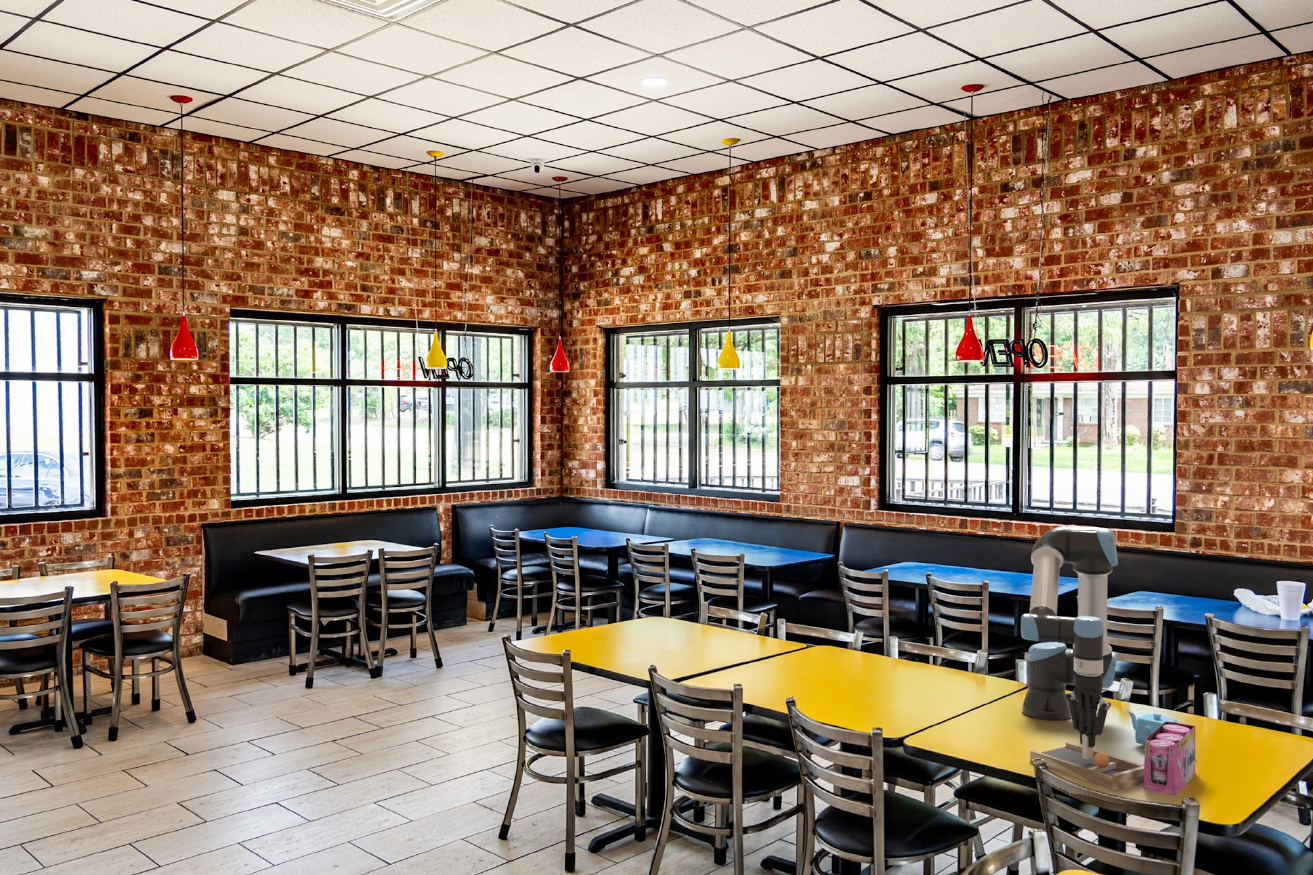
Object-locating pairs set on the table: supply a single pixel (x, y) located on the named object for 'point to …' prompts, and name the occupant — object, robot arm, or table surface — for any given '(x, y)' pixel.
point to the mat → (1081, 760)
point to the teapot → (1147, 725)
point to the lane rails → (1118, 781)
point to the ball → (1101, 760)
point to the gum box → (1169, 758)
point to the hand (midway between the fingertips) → (1087, 757)
